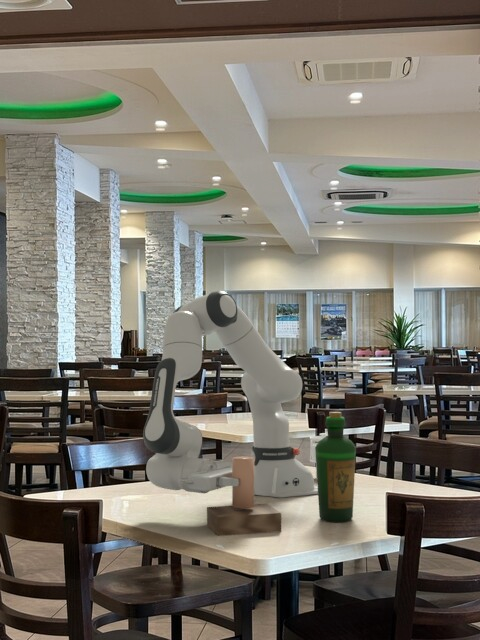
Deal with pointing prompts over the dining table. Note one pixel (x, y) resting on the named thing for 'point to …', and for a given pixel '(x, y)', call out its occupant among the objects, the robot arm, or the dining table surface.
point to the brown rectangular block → (243, 519)
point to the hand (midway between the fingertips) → (246, 480)
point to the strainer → (312, 447)
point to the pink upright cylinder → (243, 482)
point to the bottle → (335, 472)
